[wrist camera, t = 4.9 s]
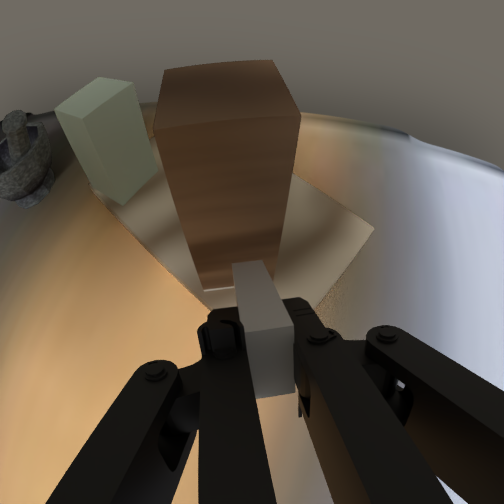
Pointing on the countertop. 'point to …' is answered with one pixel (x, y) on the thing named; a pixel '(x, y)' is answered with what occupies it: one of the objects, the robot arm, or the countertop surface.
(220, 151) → the walnut block
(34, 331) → the countertop surface
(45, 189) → the mortar and pestle
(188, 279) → the maple board
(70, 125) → the sage-green block
